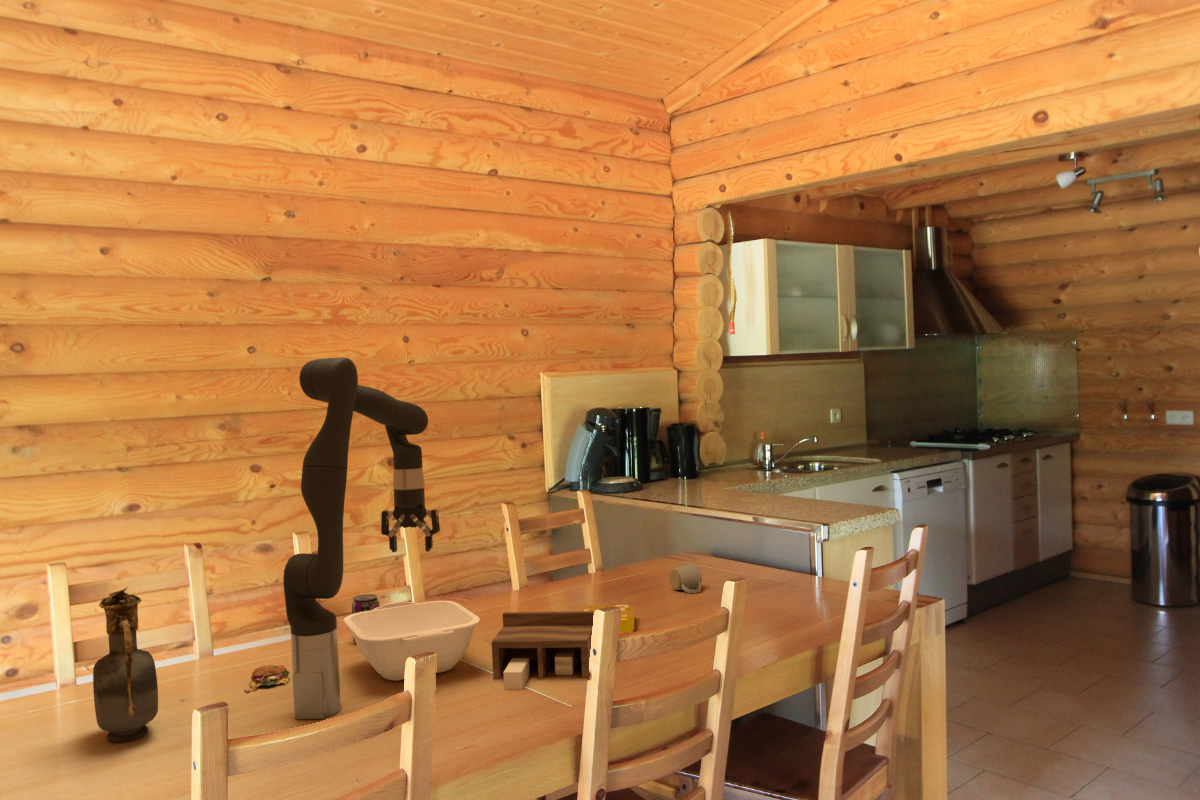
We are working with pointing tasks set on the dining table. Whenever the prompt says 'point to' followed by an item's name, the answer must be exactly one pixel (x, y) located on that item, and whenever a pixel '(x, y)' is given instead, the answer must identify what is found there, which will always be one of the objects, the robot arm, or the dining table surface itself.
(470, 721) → the dining table surface
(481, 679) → the dining table surface
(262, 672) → the hamburger
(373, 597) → the beverage can
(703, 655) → the dining table surface
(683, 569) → the ceramic mug
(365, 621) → the white plastic basin
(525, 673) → the cream block
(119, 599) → the pitcher
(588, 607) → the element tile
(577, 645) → the walnut shelf
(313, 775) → the dining table surface
